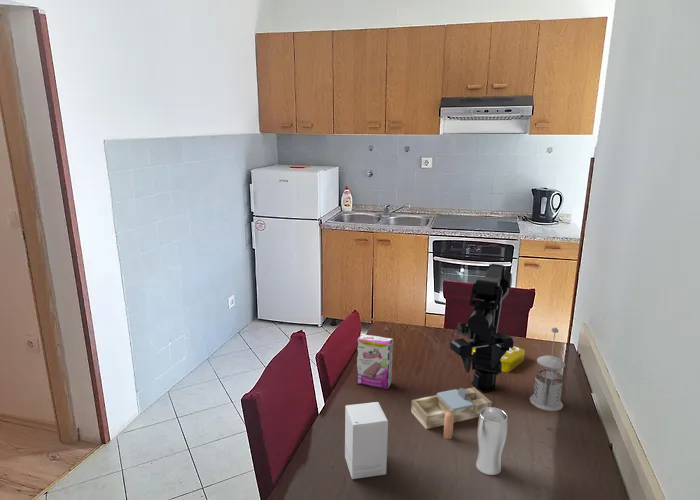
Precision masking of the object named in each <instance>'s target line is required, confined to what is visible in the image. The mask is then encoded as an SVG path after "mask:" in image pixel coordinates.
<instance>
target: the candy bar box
mask: <svg viewBox="0 0 700 500" xmlns="http://www.w3.org/2000/svg"><path fill="white" fill-rule="evenodd" d="M356 340H357V344H356V376H355V378H356V379H355V380H356V384H359V385H363V386H369V387H374V388H377V389H378V388H379V389H382V390H383V389H385V390H389V388H390V386H391V384H392V379H393V378H392V374H393V352H394V350H393V349H394V339H393V338H389V337H384V336H378V335H373V334H371V335H370V334H366V333H360V335H359V337H357V339H356Z"/></svg>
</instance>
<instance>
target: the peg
mask: <svg viewBox="0 0 700 500" xmlns="http://www.w3.org/2000/svg"><path fill="white" fill-rule="evenodd" d="M453 420H454V414H453V413H452V412H445V420H444V425H443V436H442V437H443V438H444V439H446V440H451V439H453V432H454V423H453Z"/></svg>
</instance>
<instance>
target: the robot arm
mask: <svg viewBox="0 0 700 500" xmlns="http://www.w3.org/2000/svg"><path fill="white" fill-rule="evenodd" d="M506 267H507V266H506V265H504V264H498V263H489V265H488V268H487V269H486V270H485V273H484V277H479V278H477V279H476V281H475V282H473V284H472V289H471V293H470V299H469V306H471V307H474V310H473V311H472V313H471V315H470V317H469V318H468V320H467V324H466V322H458V323H457V326H456V331H457V334H459V335H462V336H463V337H465V336H467V337H468V339H469V340H472V341H467V340H465V339H464V338H458V339H452V340H451V341H450V346H449V349H451V350H452V351H453V352H454V353H455V354H456V355H458V356H459V357H461V360H462V363H463V366H464V370H465V372H466V373H470V370H472V371H474V373H473V380H471V382H470V383H471V385H472V386H473V387H474V388H475V389H477V390H478V391H479V392H480V393H486V392H492V391H496V390H499V387H498V386H497V385H496V383H497V376H499V374H502V372H503V371H502V362H501V360H500V359H501V358H502V356H503V355H504V354H505V353H506V352H507V351H509V348H513V346H515V341H514V339H513V337H511V336H510V335H508V334H506V333H505V332H503V331H502V332H498V331H499V323H500V316H501V310H502V305H503V303H502V302H503V300H504V299H505V298H506V297H507V296H508V295H509V289H512V282H513V274H512V273H511V272H510V271H509V270H508V269H507V268H506ZM473 348H476V350H475V352H473V355H472V349H473Z"/></svg>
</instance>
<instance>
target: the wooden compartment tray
mask: <svg viewBox="0 0 700 500" xmlns="http://www.w3.org/2000/svg"><path fill="white" fill-rule="evenodd" d="M463 389H464V390H465V391H466V392H467V393H468V400H469V401H470V402H472V403H473V406H472V407H467V408H463V409H458V410H454V411H453V410H452V409H451V408H450V407H449V406H448V405H447V404H446V403H445V402H444V401H443V400H442V399H441V398H440V397H439V396H438V395H437V394H435V395H431V396H424V397H420V398H415V399H411V407H410V408H411V409H410V411H411V414H412V415H414V417H415V419H417V421H419V423H420V424H421V425H422V426H423V427H424V429H425V430H428V429H429V430H430V429H434V428H438V427H441V426H444V420H445V412H452V413H453V414H454V420H453V424H454V423H458V422H463V421H466V420H472V419H475V418H479V414H480V410H481V409H482V408H485V407H492V406H493V405H492V404H493V403H492V401H491V400H490V399H489V398H488V397H486V396H485V395H484V394H483V393H482V392H481V391H480V390H479V389H477V388H476V387H475V386H472V387H469V388H463ZM457 390H458V391H459V389H457Z"/></svg>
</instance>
